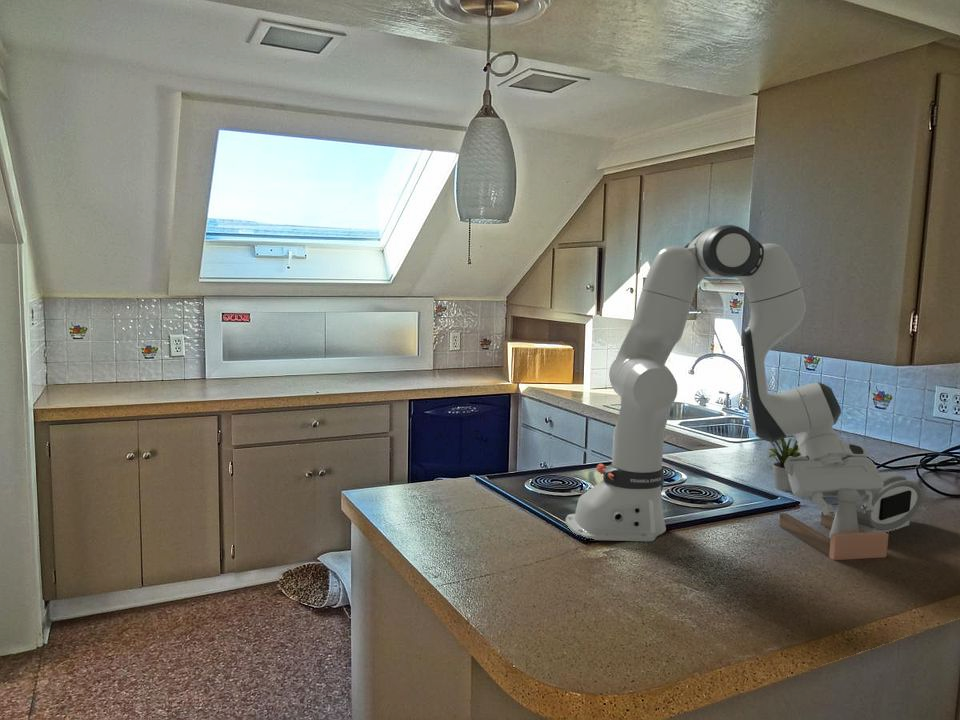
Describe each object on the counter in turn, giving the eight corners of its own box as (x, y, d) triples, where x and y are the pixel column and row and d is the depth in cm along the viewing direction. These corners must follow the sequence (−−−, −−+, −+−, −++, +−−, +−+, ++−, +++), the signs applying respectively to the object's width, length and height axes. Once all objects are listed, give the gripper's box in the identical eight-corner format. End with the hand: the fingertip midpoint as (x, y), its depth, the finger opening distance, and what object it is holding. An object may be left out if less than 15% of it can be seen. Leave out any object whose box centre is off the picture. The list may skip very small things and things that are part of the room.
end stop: (833, 560, 152) (835, 536, 151) (829, 557, 153) (831, 534, 152) (886, 557, 154) (888, 534, 153) (881, 554, 155) (883, 531, 155)
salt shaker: (862, 554, 155) (868, 494, 153) (834, 552, 156) (839, 493, 154) (851, 543, 161) (857, 486, 159) (824, 542, 161) (829, 484, 159)
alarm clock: (866, 542, 162) (872, 486, 160) (839, 533, 167) (844, 479, 165) (920, 523, 174) (926, 471, 173) (893, 515, 179) (899, 464, 178)
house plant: (741, 485, 201) (746, 427, 198) (767, 476, 210) (771, 420, 208) (793, 499, 190) (798, 437, 188) (817, 489, 199) (822, 429, 197)
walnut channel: (829, 557, 153) (830, 543, 153) (779, 526, 171) (780, 513, 170) (881, 554, 155) (882, 540, 155) (826, 523, 173) (827, 511, 172)
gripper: (788, 449, 160) (812, 508, 151) (872, 447, 163) (900, 504, 155) (774, 464, 165) (797, 521, 156) (856, 461, 168) (883, 517, 160)
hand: (849, 513), depth 156 cm, fingers open, 8 cm apart
